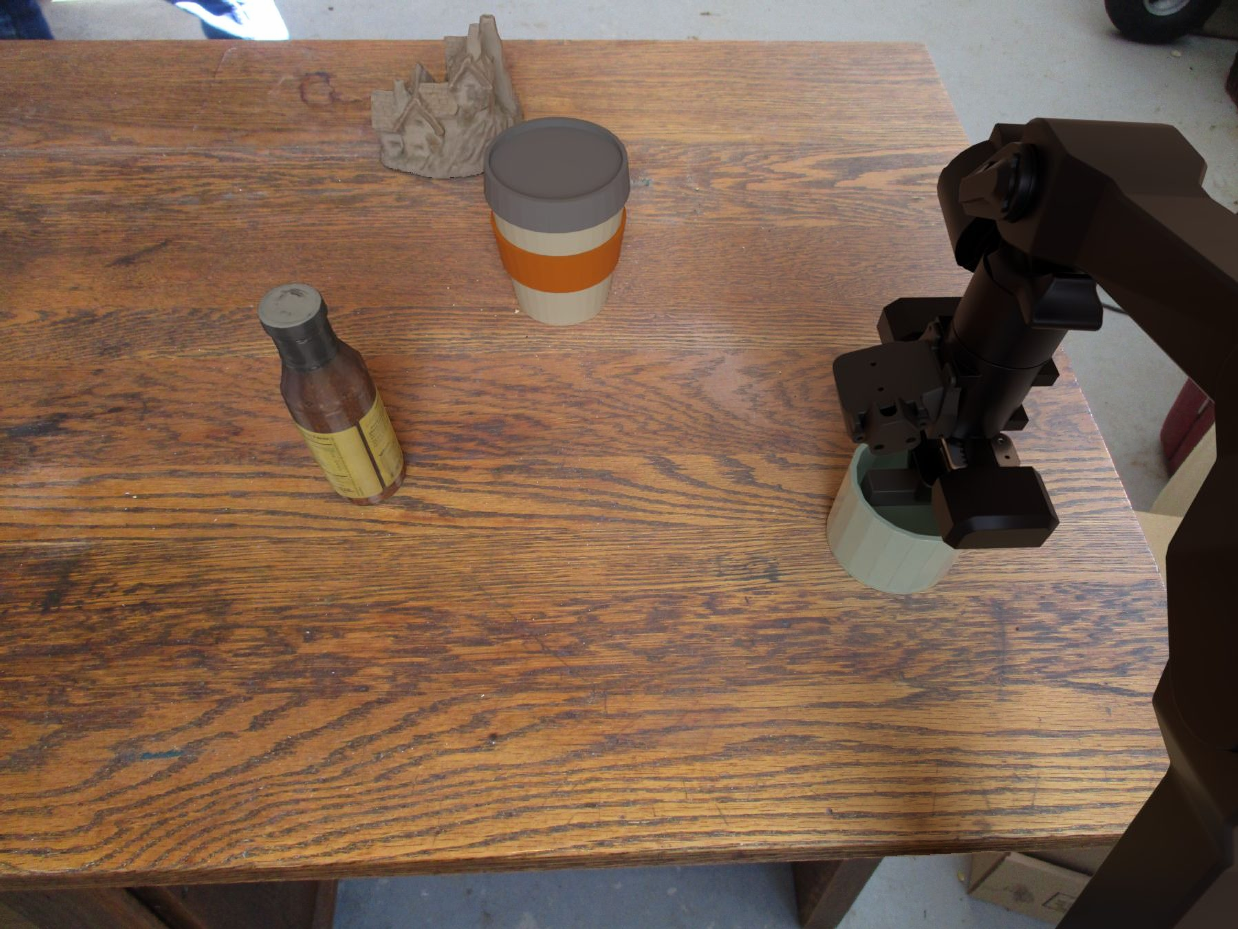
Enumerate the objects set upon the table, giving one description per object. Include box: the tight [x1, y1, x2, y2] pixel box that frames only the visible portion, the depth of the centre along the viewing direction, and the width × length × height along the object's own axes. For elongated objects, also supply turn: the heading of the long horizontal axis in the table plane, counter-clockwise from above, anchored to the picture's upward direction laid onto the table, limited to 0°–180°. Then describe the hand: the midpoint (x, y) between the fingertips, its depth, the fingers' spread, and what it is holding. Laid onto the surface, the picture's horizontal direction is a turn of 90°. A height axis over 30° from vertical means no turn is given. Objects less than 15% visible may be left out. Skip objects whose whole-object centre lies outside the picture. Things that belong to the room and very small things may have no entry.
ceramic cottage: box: [370, 13, 524, 179], centre depth 90 cm, size 16×16×15 cm
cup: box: [825, 443, 965, 595], centre depth 62 cm, size 10×10×8 cm
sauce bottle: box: [256, 282, 407, 506], centre depth 60 cm, size 7×6×20 cm
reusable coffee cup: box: [483, 116, 631, 327], centre depth 75 cm, size 13×13×15 cm
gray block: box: [860, 468, 932, 507], centre depth 60 cm, size 7×2×2 cm, turn 92°
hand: (917, 486), depth 60 cm, fingers closed on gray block, 2 cm apart
